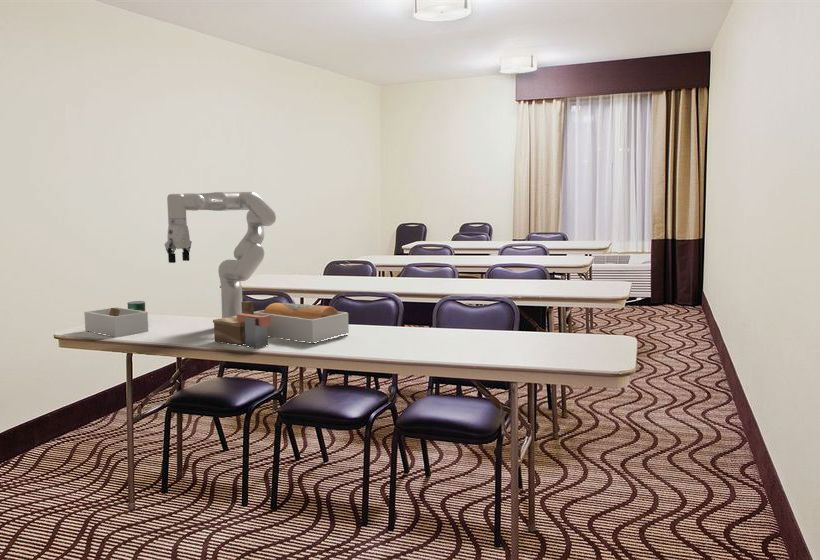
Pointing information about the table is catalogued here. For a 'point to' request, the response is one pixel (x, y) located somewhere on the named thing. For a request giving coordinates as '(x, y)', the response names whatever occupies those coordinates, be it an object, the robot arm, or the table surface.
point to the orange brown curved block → (300, 310)
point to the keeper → (255, 333)
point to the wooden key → (262, 320)
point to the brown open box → (229, 334)
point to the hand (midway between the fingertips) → (179, 261)
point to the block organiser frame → (116, 322)
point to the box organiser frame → (307, 327)
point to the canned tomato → (136, 305)
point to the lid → (246, 309)
